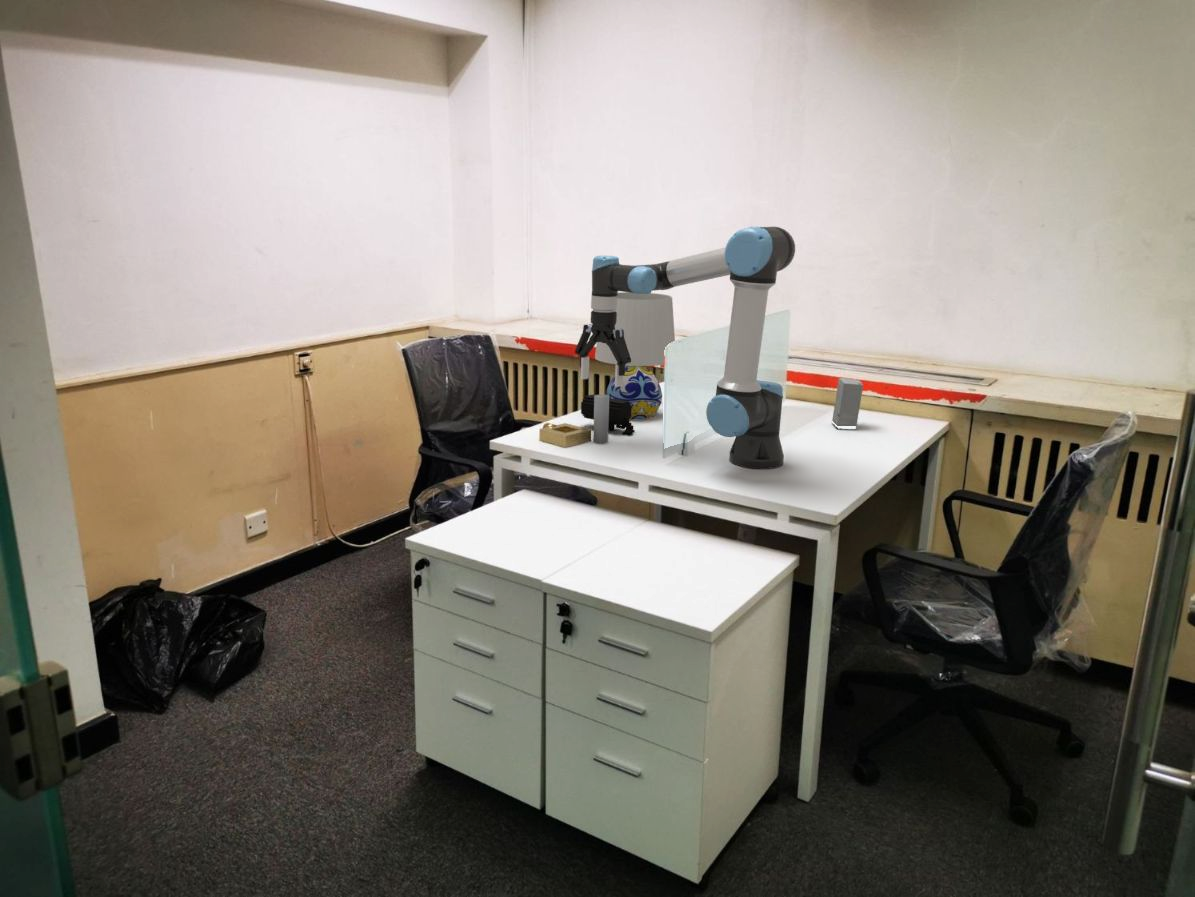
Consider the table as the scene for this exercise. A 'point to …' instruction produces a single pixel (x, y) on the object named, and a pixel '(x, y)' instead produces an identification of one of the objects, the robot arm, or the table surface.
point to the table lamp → (641, 349)
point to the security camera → (611, 413)
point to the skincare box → (847, 402)
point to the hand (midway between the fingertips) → (601, 382)
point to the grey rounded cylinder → (601, 419)
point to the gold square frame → (564, 434)
